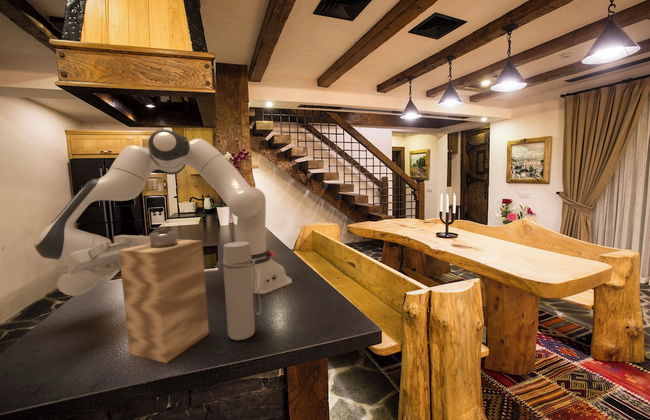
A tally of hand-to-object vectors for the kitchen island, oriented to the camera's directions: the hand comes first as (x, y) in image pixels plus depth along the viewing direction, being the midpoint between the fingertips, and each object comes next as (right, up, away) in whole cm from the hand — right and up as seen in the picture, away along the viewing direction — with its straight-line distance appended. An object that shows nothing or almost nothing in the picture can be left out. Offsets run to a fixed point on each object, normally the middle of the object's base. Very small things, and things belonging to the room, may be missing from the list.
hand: (125, 241), depth 81 cm
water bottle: (+32, -26, +1) cm, 41 cm away
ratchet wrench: (+7, 0, -3) cm, 8 cm away
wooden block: (+13, -26, -2) cm, 30 cm away
